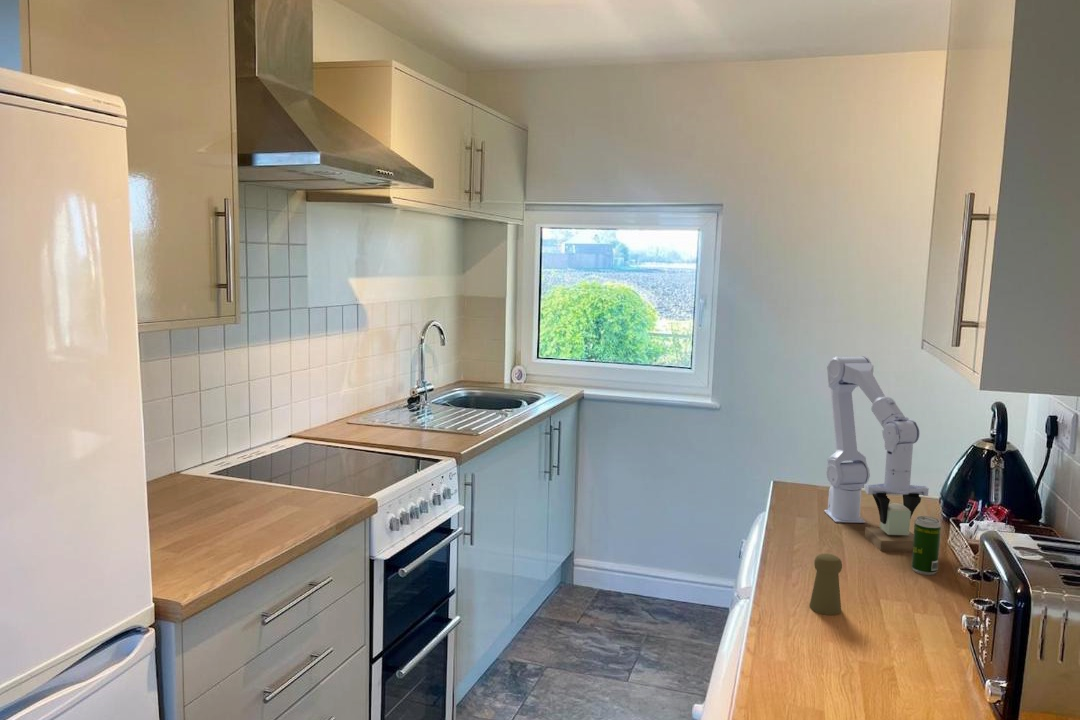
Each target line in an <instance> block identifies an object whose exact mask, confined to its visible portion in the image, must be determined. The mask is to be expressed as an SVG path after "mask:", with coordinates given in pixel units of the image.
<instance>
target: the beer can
mask: <svg viewBox="0 0 1080 720" xmlns="http://www.w3.org/2000/svg"><path fill="white" fill-rule="evenodd" d="M941 532H942V525H941V520H940V519H938V518H936V517H933V516H926V515H921V516H916V517H915V520H914V526H913V534H914V537H913V550H912V553H911V564H910V566H911V569H912V571H913V572H915V573H918V574H920V575H925V576H933V575H936V574H937V572H938V570H939V559H940V558H939V556H940V548H941V547H940V545H941V535H942V534H941Z"/></svg>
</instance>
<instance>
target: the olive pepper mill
mask: <svg viewBox="0 0 1080 720" xmlns="http://www.w3.org/2000/svg"><path fill="white" fill-rule="evenodd" d="M813 565H814V569H815V571H816V573H815V577H814V583H813V588H812V590H811V591H812V592H811V597H810V601H809V609H810V610H811V611H813V612H815V613H817V614H820V615H825V616H837V615H839V614H841V613H842V604H841V603H842V602H841V590H840V589H841V588H840V578H839V577H840V575H839V573H841V571H842V569H843V564H842V560H841V558H840V557H839V556H837V555H835V554H830V553H820V554H817V555H816V556H815V558H814V561H813Z"/></svg>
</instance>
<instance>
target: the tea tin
mask: <svg viewBox="0 0 1080 720" xmlns="http://www.w3.org/2000/svg"><path fill="white" fill-rule="evenodd" d="M910 517H911V518H912V516H911V511H910V510H909V509H908V508H907V507H905V506H904V505H903V503H896V502H895V503H894V502H893V503H890V502H889V505H888V511H887V521H886V524H883V523H882V522H881V521H880V520H879V521H880V522H879V523H880V524H879V527H880V528H881V529H882V530H883V531H885V532H886V533H887V534H888V535H909V531H910V527H911V519H910Z"/></svg>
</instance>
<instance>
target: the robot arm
mask: <svg viewBox="0 0 1080 720" xmlns="http://www.w3.org/2000/svg"><path fill="white" fill-rule="evenodd" d="M826 370H827V373H826V374H827V383H828V387H829V389H830V396H831V398H830V399H831V406H832V407H831V408H832V419H833V429H834V438H835V439H834V440H835V452H834V453H832V454H831V455H830V456H829V457H828V458H827V468H826V478H827V481H828V482H829V484H830V487H829V489H828V500H827V509H824V513H826V515H828V516H829V518H831V519H832V520H833V521H834V522H835V523H851V524H852V523H853V524H854V523H856V524H857V523H860V524H861V523H862V524H863V523H866V520H864V518H863V517H862V516H861V505H862V504H861V502H862V501H861V500H862V489H863V488H864V489H865V491H864V493H865V494H867V495H870V496H871V495H872V496H873V499H874V501H875V503H876V507H877V510H878V514H879V521H881V522H882V523H883V524H886V521H887V511H888V505H889V503H890V501H891V499H890V498H889V497H888V495H902V502H903V503H902V504H903V505H904V506H905V507H907V508H908V509H909V510H910V511H911V517H910V520H911V519H912V517H913V514H914V512H915V510H916V509H917V507H918V505H920V503H921V502H922V497H921V496H924V497H929V490H930V489H929V488H928V487H927V486H925V485H915V484H911V478H912V477H911V476H912V475H911V474H912V465H913V464H912V462H913V449H914V444H916V443H917V442H918V440H919V438H920V429H919V426H918V424H917V422H916V421H915V420H914V419H910V418H909V417H907V416H905V414H904V413H903V412H902V411H901V408H899V406H898V405H897V403H896V401H895V400H894V399H893V398H892V397H889V396H885V394H884V392H883V390H882V389H881V387H880V386H881V385H879V383H878V381H877V379H876V378H875V376H874V365H873V364H872V362H871V360H870V359H869V357H867V356H862V355H861V356H847V357H846V356H844V357H843V356H841V357H840V356H834V357H832V358H831V360H830V361H829V362H828V364H827V365H826ZM858 387H859V388H860V390H861V391H862V392H863V394H864V395H865V396H866V397H867V398H868V400H869V402H870V403H872V404H871V408H870V409H871V412H872V414H873V415H874V416H875V418H876V419H877V421H878V422H879V425H880V426H881V428H882V430H881V432H882V437H883V438H882V439H883V440H884V448H885V449H884V450H886V453H885V454H886V455H885V456H886V457H885V470H884V483H877V484H876V483H875V484H868V482H869V481H870V477H871V473H870V468H869V467H868V464H867V458H866V456H865V455H864V454H862V453H861V452H860V451H859V450H858V444H857V435H856V433H857V432H856V424H855V423H856V422H855V413H854V404H853V391H855V389H856V388H858ZM844 461H845V462H844ZM847 461H848V462H847ZM849 461H851V462H849Z"/></svg>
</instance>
